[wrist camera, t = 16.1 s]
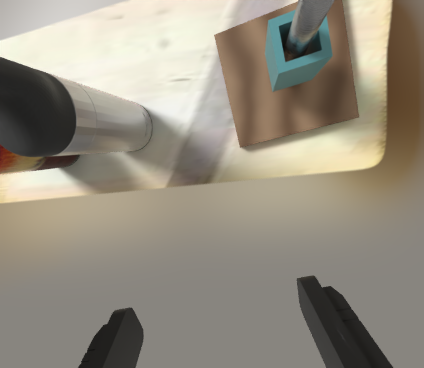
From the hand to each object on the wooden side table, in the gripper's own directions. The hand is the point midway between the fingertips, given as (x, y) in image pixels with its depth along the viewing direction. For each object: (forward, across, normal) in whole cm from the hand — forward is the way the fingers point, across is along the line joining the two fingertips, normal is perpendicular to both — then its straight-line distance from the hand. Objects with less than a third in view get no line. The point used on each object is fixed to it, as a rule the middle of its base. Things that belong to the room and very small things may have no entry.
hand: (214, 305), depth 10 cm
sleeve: (+25, -13, -11) cm, 30 cm away
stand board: (+30, -14, -10) cm, 34 cm away
